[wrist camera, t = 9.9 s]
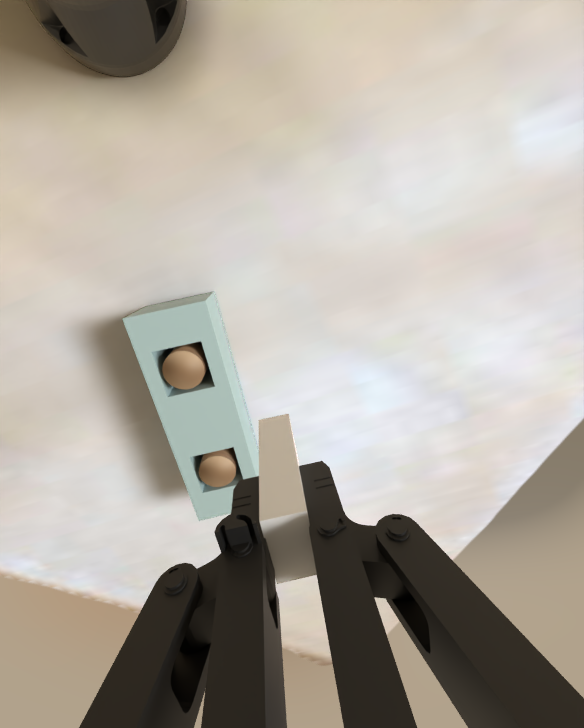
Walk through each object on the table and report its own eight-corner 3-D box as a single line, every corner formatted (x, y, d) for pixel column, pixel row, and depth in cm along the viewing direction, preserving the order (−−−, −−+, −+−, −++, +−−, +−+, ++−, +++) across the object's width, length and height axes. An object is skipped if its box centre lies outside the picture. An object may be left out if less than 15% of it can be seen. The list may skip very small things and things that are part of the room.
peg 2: (203, 428, 50) (194, 461, 42) (234, 421, 50) (230, 452, 42) (212, 454, 51) (204, 490, 44) (242, 448, 51) (239, 482, 44)
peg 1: (173, 338, 45) (156, 356, 37) (207, 330, 45) (197, 347, 37) (184, 369, 46) (169, 393, 39) (217, 362, 47) (209, 384, 39)
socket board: (145, 306, 44) (122, 318, 36) (214, 291, 44) (205, 300, 36) (207, 481, 53) (198, 520, 45) (263, 468, 53) (264, 505, 46)
